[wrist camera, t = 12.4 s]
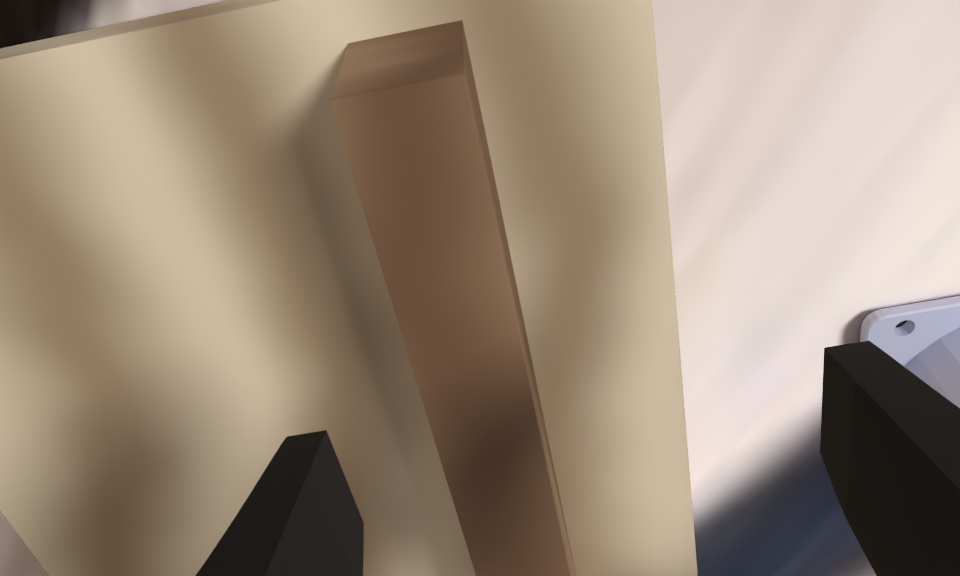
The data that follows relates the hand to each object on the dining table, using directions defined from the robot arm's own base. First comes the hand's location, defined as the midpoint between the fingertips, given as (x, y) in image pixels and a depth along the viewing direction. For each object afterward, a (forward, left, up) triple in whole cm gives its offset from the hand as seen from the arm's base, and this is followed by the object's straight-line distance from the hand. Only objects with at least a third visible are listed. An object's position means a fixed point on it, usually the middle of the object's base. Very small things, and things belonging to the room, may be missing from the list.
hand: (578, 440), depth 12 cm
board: (+7, +11, -9) cm, 16 cm away
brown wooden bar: (+2, +5, -8) cm, 10 cm away
